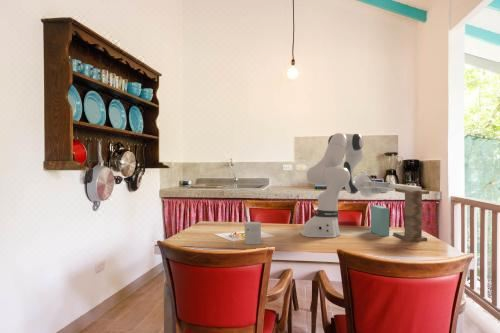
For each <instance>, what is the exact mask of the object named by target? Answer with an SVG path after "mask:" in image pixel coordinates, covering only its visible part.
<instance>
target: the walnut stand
mask: <svg viewBox="0 0 500 333" xmlns="http://www.w3.org/2000/svg"><path fill="white" fill-rule="evenodd" d="M394 190H395V192H397V193H402V194H404V231H403V232H402V231H400V232H396V231H395V232H393V234H392V235H393V236H395V237H397V238H399V239H401V240H404V241H406V242H423V241H424V242H427V241H428V237H426V236H423V235H422V234H423V233H422V232H423V231H422V230H423V229H422V228H423V226H422V225H423V195H429V194H430V191H429V190H424V189H421V191H412V190H405V189H399V188H394Z"/></svg>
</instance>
